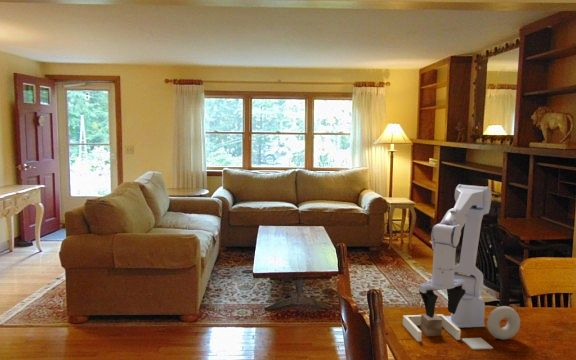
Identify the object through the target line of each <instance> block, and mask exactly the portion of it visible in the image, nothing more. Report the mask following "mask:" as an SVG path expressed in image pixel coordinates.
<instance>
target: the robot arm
mask: <svg viewBox="0 0 576 360" xmlns="http://www.w3.org/2000/svg"><path fill="white" fill-rule="evenodd" d="M492 194H493V193H492V189H491V188H490V186H480V185H470V184H469V185H468V184H461V183H459V184H458V185H457V186H456V187H455V189H454V200H455V204H454V206H453V208H450V209H448V210H447V211H446V213H445V214H444V216H443V217H442V219H441V221H440V222H439V223H437V224H434V225H433V226H432V230H431V233H430V237H431V238H430V239H431V249H432V250H433V258H432V259H433V260H432V277H431V278H430V280H428V281H426V282H424V283H420V284H419V285H418V293H419V294H420V297H421V299H422V301H423V304H424V309H425V314H426V315H427V316H429V317H431V318H432V317H433V316H434V314H435V307H436V302H437V301H438V297H439V296H438V295H437V294H435V292H434V291H440V290H442V291H443V290H446V292H447V312H449V313H450V315H444V316H445V317H446V318H447V319H448V320H450V321H451V322H452V323H453V324H454V325H455V326H457V327H458V328H459V329H461V328H483V327H484V328H485V327H486V324H485V310H486V307H485V306H486V304H485V300H484V298H483V297H482V295H483V294H482V293H483V292H484V274H483V272H482V271H481V270H480V269H479V268H478V267H477V266H476V264H477V256H478V249H479V248H478V247H479V241H480V234H481V228H482V226H481V225H482V220H483V217H484V215H488V214H489V213H490V210H491V204H492ZM463 227H464V228H463ZM462 229H463V235H462ZM461 235H462V236H463V237H462V242H461V249H460V250H461V251H460V256H459V257H460V258H459V263H457V264H456V253H457V252H456V251H457V246H458V245H459V243H460V238H461ZM470 275H471V276H470Z"/></svg>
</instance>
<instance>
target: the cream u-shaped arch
mask: <svg viewBox="0 0 576 360" xmlns="http://www.w3.org/2000/svg"><path fill="white" fill-rule="evenodd" d="M435 314H436V315H437V316H439V317H440V318H441V319H442V329H444V330H445V331H446V332H448V334H450V335H451V336H452V337H453V338H454V339H455V340H456V341H461V333H462V330H461V328H458V327H457V326H455V325H454V324H453V323H452V322H451V321H450V320H448V319H447V318H446V317H445V316H446V315H444V314H442V313H441V314H439V313H435ZM402 325H403V327H404V328H405V329H406V330H407V331H408V333H410V334H411V336H412V337H413V338H414V339H415V341H417V342H418V343H419V342H422V333H423V332H422V331H421V328H419V327H418V326H421V314H413V315H412V314H407V315H402Z"/></svg>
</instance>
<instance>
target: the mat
mask: <svg viewBox="0 0 576 360" xmlns="http://www.w3.org/2000/svg"><path fill="white" fill-rule="evenodd" d="M461 340H462V342H464V344H466V345H467V346H468V347H469V348H470V349H472V350H493V349H494V347H493V346H492V345H490V344H489V343H488V342H487V341H486V340H484V339H483V338H482V337H469V338H467V337H465V338H461Z"/></svg>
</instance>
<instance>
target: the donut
mask: <svg viewBox="0 0 576 360" xmlns="http://www.w3.org/2000/svg"><path fill="white" fill-rule="evenodd" d="M505 318H506V320H507V323H506V325H504V326H503V327H501V326H500V325H501V324H500V323H501V321H502V320H504V319H505ZM486 326H487V330H488V332H489V334H491V335H492V337H494V338H495V339H498V340H502V341H504V340H509V339H511V338H513V337H514V336H516V334H517V333H518V332H519V330H520V328H521V327H520V326H521V319H520V316H519V313H518V312H517V311H516V310H515V309H514V308H512V307H510V306H507V305H502V306H498V307H496V308H494V309H492V310H491V311H490V313H489V314H488V317H487V320H486Z"/></svg>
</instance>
